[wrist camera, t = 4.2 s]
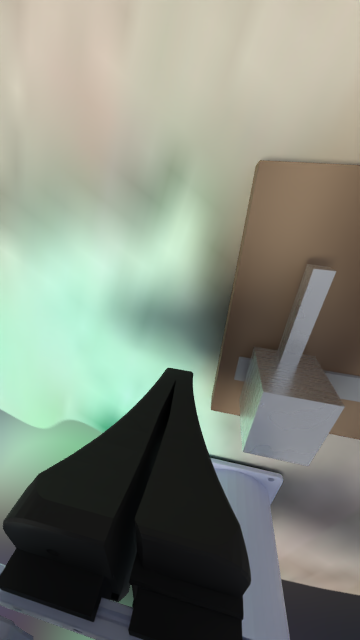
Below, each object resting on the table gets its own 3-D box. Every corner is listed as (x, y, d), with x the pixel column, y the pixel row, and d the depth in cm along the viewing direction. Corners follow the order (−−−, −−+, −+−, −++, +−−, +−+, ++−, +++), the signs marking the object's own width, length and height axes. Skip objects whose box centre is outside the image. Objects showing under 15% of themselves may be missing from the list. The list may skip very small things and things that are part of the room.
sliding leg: (239, 400, 13) (242, 451, 11) (278, 260, 9) (300, 282, 7) (290, 410, 13) (308, 466, 10) (354, 268, 9) (412, 296, 6)
